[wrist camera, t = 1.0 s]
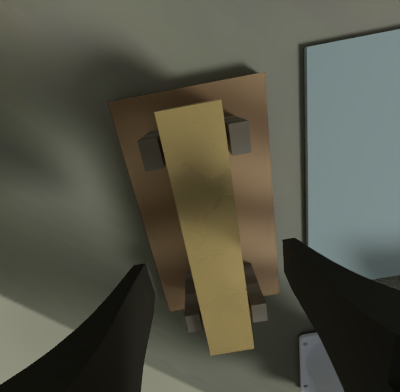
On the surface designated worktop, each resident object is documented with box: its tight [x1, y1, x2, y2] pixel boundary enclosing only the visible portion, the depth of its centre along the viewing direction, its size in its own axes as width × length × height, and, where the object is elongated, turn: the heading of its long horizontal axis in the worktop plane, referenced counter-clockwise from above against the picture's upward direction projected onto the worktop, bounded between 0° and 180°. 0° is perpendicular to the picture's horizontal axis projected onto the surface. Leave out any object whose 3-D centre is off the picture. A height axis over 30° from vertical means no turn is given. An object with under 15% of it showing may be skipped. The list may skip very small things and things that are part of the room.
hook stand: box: [108, 72, 279, 333], centre depth 17 cm, size 18×10×6 cm, turn 10°
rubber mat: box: [304, 29, 400, 280], centre depth 19 cm, size 20×12×1 cm, turn 10°
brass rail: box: [154, 100, 254, 355], centre depth 15 cm, size 16×3×3 cm, turn 10°
